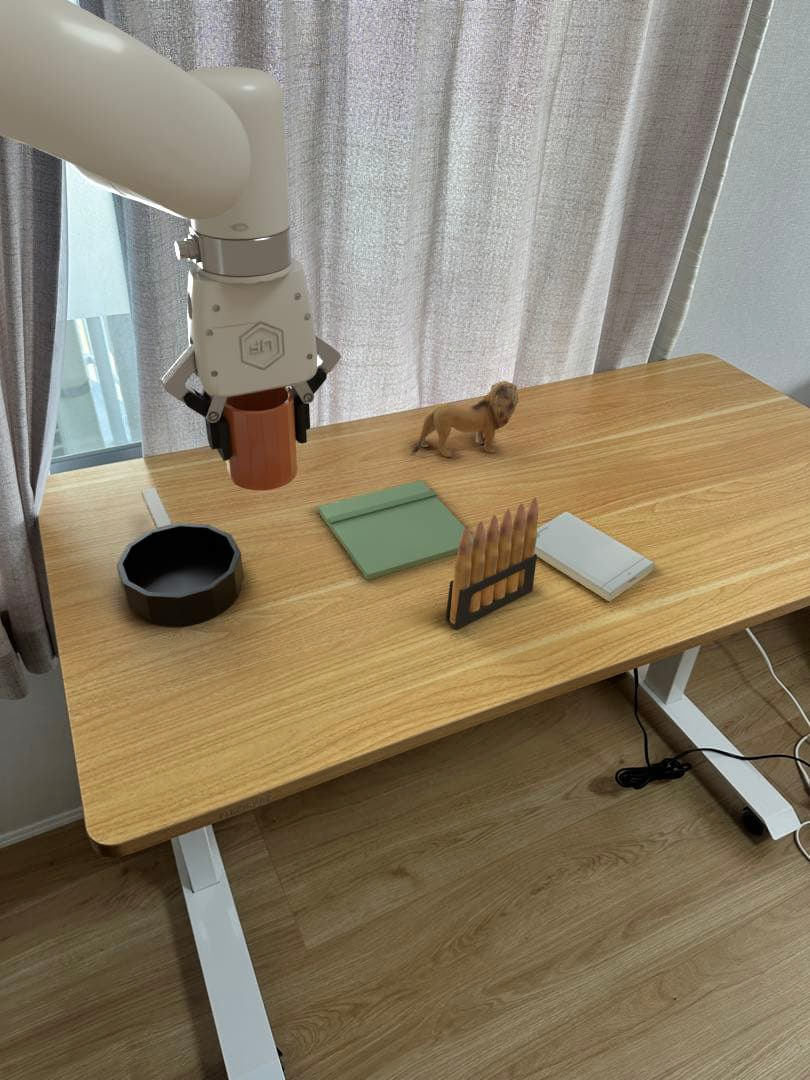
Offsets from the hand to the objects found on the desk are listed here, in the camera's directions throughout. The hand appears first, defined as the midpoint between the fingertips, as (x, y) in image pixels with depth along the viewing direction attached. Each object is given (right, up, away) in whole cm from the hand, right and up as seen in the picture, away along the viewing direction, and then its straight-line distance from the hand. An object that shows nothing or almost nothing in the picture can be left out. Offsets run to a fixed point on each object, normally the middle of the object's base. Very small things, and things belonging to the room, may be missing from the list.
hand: (260, 443), depth 74 cm
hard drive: (+34, -11, +17) cm, 39 cm away
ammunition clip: (+22, -16, +10) cm, 29 cm away
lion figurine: (+22, +4, +36) cm, 42 cm away
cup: (0, -2, +2) cm, 3 cm away
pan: (-12, -12, +13) cm, 21 cm away
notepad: (+12, -8, +20) cm, 25 cm away
